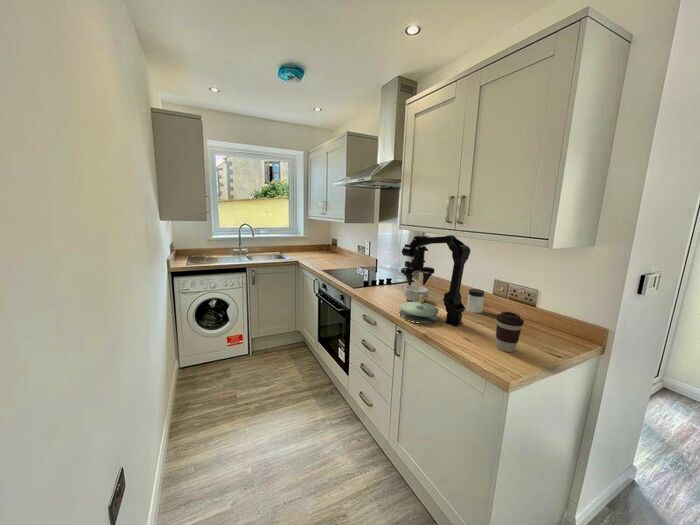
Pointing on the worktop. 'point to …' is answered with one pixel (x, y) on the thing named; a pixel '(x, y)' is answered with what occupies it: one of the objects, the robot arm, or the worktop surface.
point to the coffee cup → (508, 331)
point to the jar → (475, 300)
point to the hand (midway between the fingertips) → (416, 285)
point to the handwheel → (419, 308)
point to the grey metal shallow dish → (419, 318)
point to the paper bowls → (415, 292)
